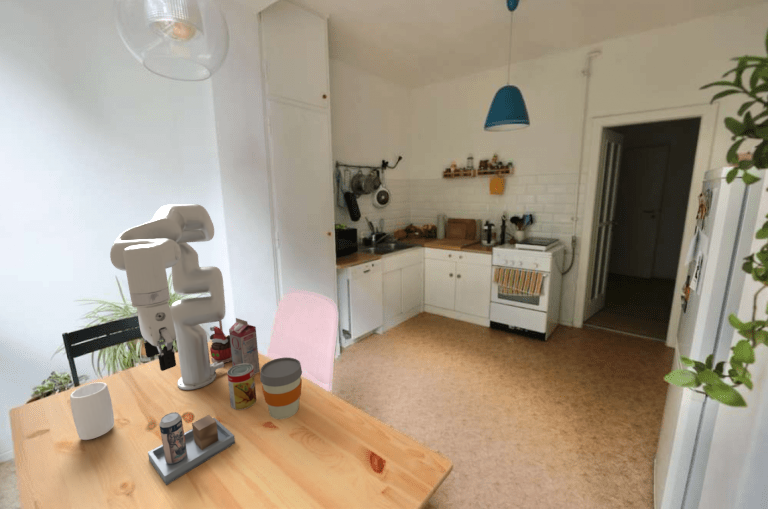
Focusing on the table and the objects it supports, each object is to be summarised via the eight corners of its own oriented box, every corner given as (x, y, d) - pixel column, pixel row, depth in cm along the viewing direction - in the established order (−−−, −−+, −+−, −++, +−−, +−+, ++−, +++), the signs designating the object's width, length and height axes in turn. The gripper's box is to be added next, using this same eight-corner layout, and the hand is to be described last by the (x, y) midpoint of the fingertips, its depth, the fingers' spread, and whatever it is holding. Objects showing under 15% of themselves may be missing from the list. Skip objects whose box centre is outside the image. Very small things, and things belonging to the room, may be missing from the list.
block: (211, 433, 95) (208, 414, 94) (218, 440, 92) (216, 421, 91) (194, 442, 92) (191, 423, 90) (201, 450, 89) (199, 430, 88)
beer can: (177, 466, 83) (170, 425, 81) (161, 463, 84) (153, 422, 82) (191, 452, 88) (185, 412, 86) (176, 449, 89) (169, 410, 87)
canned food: (260, 401, 110) (257, 368, 108) (237, 413, 105) (233, 378, 102) (249, 392, 116) (246, 360, 113) (226, 402, 110) (223, 369, 108)
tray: (215, 424, 100) (214, 417, 99) (235, 443, 92) (234, 435, 92) (149, 460, 87) (147, 452, 86) (166, 485, 79) (164, 476, 79)
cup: (123, 427, 99) (115, 384, 96) (90, 447, 91) (81, 401, 89) (103, 421, 102) (95, 379, 99) (71, 440, 94) (61, 395, 91)
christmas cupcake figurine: (242, 355, 142) (238, 315, 139) (228, 366, 133) (223, 324, 130) (221, 352, 144) (216, 313, 141) (205, 363, 136) (200, 321, 132)
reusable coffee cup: (265, 428, 98) (261, 382, 95) (261, 403, 109) (258, 362, 106) (307, 416, 103) (305, 372, 100) (300, 394, 114) (297, 353, 111)
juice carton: (244, 379, 123) (239, 324, 119) (233, 374, 127) (228, 320, 122) (259, 371, 129) (254, 318, 124) (248, 367, 132) (243, 315, 128)
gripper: (182, 299, 76) (191, 366, 80) (155, 285, 87) (165, 345, 91) (144, 309, 71) (156, 381, 74) (120, 292, 81) (132, 356, 85)
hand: (161, 361), depth 82 cm, fingers open, 9 cm apart
